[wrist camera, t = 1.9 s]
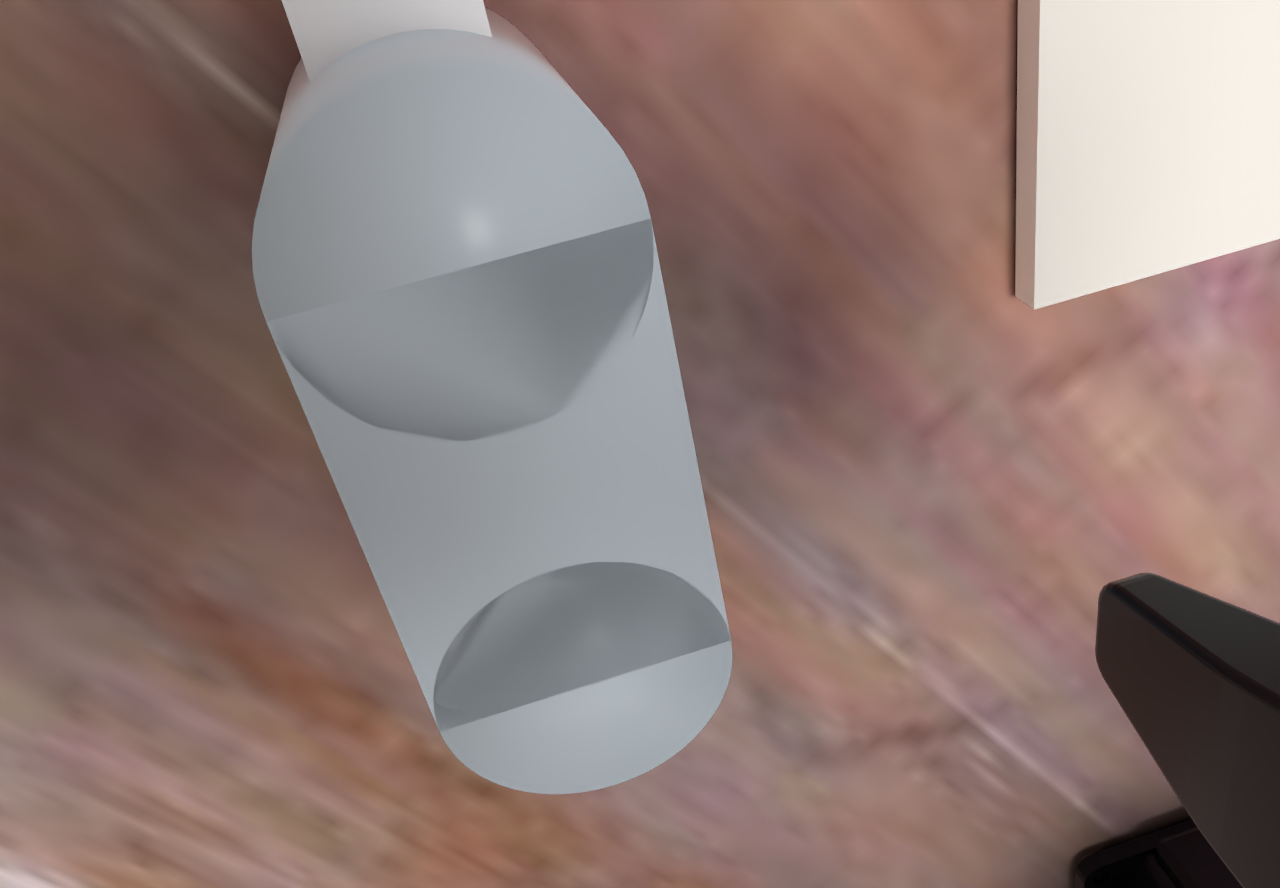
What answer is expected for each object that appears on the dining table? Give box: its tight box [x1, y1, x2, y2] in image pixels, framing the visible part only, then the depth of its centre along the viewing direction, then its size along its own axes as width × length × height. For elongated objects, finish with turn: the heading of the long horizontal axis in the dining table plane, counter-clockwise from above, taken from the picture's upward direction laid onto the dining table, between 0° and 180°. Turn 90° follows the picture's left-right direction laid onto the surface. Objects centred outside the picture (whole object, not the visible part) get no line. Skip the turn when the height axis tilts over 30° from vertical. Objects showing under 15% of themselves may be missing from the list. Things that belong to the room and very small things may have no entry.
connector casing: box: [252, 0, 733, 794], centre depth 14 cm, size 13×4×5 cm, turn 11°
